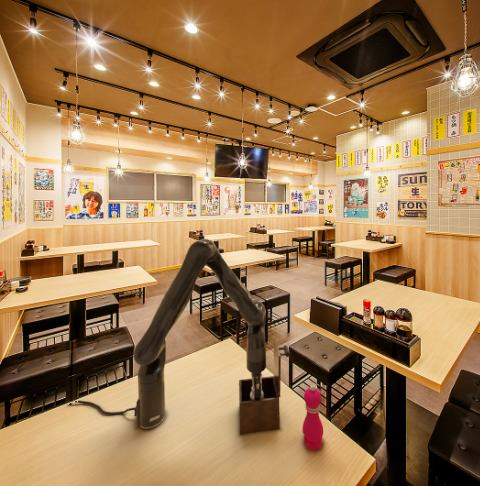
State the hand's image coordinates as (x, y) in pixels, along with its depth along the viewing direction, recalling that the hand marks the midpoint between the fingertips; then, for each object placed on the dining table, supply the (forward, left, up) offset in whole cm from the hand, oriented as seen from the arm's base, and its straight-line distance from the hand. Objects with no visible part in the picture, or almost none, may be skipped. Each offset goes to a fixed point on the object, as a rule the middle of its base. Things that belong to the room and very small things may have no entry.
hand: (256, 398), depth 99 cm
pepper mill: (+19, -13, -8) cm, 24 cm away
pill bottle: (0, 0, -6) cm, 6 cm away
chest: (+1, 0, -8) cm, 8 cm away
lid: (+8, 0, +12) cm, 14 cm away
